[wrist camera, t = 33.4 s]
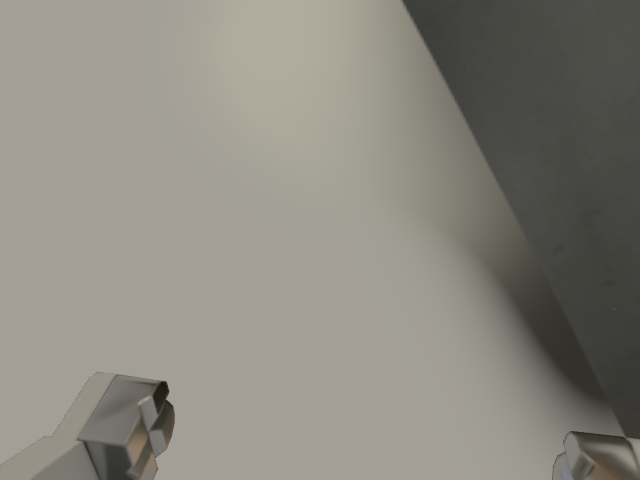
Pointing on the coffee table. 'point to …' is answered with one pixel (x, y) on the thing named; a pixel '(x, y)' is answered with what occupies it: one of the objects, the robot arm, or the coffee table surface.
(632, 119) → the coffee table surface
